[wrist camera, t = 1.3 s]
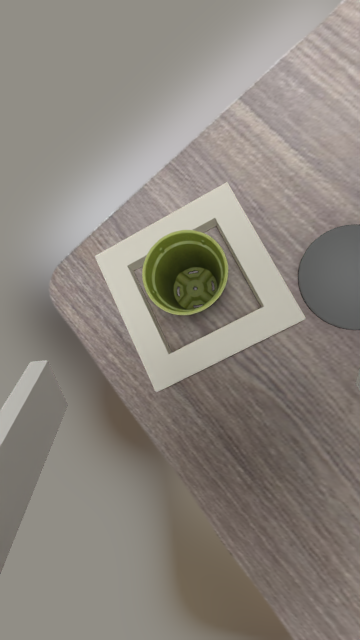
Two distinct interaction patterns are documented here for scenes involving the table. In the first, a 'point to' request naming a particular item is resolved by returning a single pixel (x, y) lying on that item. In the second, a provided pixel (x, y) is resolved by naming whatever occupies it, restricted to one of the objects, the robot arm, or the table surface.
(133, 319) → the well board
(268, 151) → the table surface
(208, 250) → the plant pot
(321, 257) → the mat
